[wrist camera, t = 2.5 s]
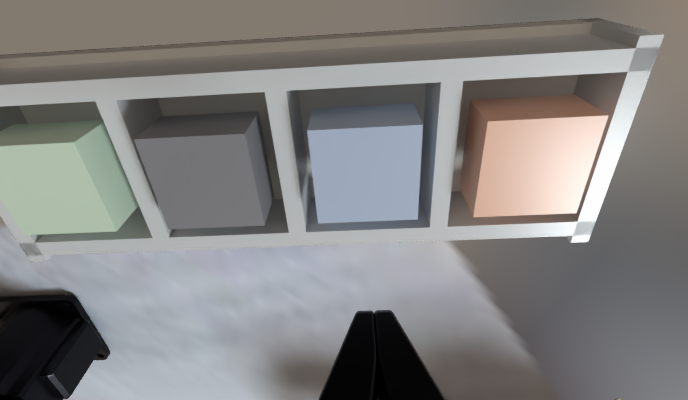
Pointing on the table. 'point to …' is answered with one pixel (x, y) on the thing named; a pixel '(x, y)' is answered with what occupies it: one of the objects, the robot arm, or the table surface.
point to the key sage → (63, 178)
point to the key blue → (366, 162)
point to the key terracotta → (529, 154)
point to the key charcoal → (208, 169)
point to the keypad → (324, 92)
